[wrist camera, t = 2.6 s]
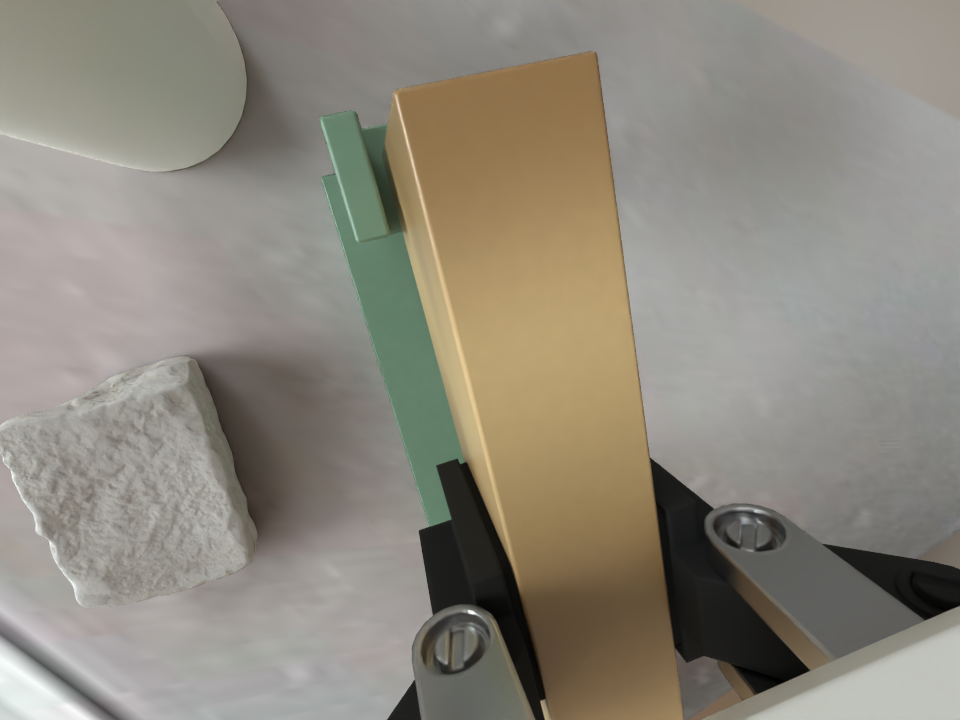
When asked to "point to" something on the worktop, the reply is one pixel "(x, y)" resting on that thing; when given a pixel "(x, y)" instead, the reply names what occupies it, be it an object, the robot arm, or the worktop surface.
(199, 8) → the cylindrical container
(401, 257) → the hanger stand
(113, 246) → the worktop surface
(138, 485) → the grey stone block
